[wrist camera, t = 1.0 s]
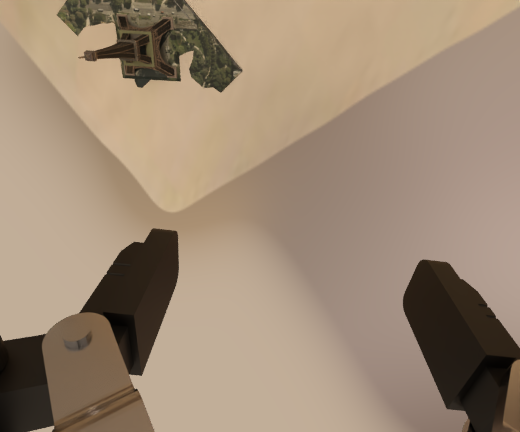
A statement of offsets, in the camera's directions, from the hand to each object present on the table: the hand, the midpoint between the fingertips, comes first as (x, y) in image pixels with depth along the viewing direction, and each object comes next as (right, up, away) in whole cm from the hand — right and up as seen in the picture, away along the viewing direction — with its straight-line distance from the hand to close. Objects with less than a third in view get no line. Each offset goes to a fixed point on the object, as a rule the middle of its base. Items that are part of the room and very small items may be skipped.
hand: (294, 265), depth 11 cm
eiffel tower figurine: (-11, +18, +21) cm, 30 cm away
